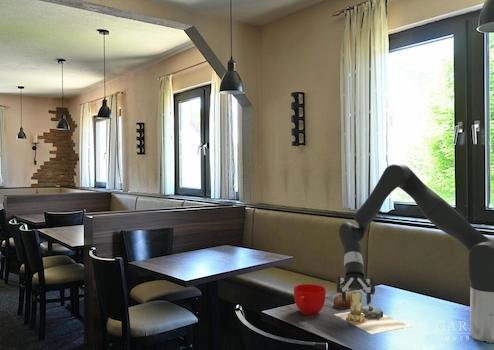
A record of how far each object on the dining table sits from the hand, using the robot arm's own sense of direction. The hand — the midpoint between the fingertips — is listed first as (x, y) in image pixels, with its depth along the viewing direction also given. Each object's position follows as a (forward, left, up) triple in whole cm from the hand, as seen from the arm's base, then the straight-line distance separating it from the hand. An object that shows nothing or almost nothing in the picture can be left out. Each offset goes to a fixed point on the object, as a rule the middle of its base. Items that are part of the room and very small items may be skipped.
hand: (356, 303), depth 164 cm
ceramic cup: (+18, +10, -9) cm, 22 cm away
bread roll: (+20, -10, -9) cm, 24 cm away
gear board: (-1, -6, -8) cm, 10 cm away
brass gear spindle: (+1, -1, -7) cm, 7 cm away
